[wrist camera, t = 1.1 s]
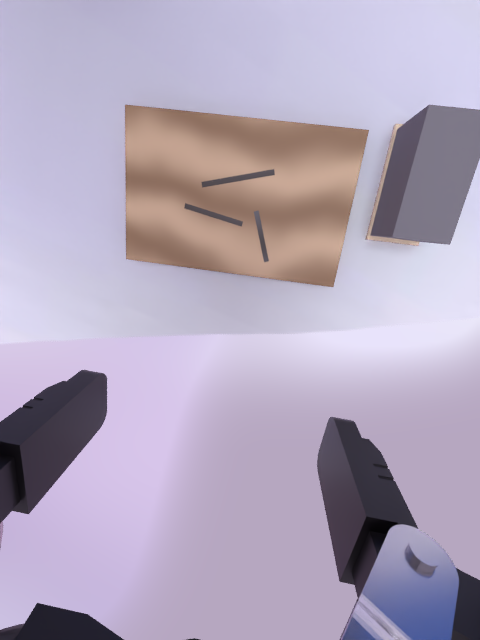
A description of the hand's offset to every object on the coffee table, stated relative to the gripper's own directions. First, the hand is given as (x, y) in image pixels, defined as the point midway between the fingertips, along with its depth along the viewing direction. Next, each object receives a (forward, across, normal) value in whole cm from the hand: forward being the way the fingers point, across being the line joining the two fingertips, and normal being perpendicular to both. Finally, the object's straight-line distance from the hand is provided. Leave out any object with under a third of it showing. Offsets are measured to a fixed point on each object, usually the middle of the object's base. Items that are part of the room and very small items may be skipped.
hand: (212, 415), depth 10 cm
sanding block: (+23, -13, -12) cm, 29 cm away
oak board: (+23, +3, -8) cm, 25 cm away
